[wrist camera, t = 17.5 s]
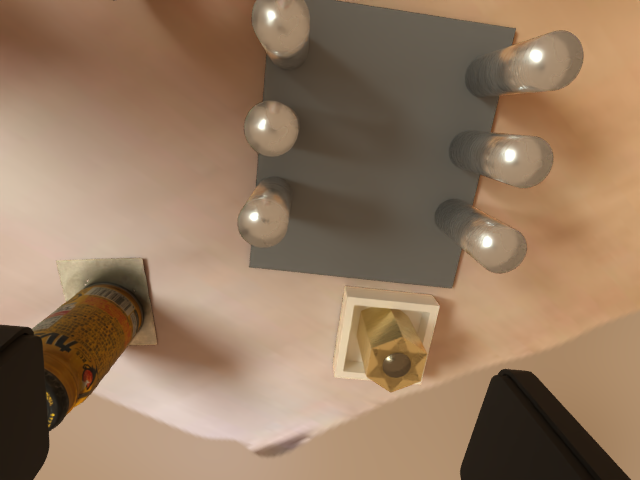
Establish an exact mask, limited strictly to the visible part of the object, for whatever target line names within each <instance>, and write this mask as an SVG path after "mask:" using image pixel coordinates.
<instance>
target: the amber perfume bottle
mask: <svg viewBox="0 0 640 480" xmlns="http://www.w3.org/2000/svg"><path fill="white" fill-rule="evenodd" d="M356 336H357V340H358V344H359V348H360V353H361V357H362V361H363V365H364V370H365V374H366V377H368V378H369V379H371V380H372V381H374V382H375V383H377V384H378V385H380V386H381V387H383V388H385V389H386V390H388V391H389V392H393V391H396V390H399V389H402V388H404V387H407V386H410V385H412V384H415V383H418V382H421V378H422V374H423V370H424V366H425V362H426V358H427V352H426V350H425V348H424V346H423V344H422V342H421V340H420V338H419V336H418V334H417V332H416V330H415V329H414V327H413V325H412V323H411V321H410V319H409V317H408V315H406V314H405V313H403V312H402V311H401V310H399V309H389V308H379V307H370V308H367V309H365V310H362V311H361V313H360V319H359V324H358V330H357V335H356Z"/></svg>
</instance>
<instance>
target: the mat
mask: <svg viewBox="0 0 640 480" xmlns="http://www.w3.org/2000/svg"><path fill="white" fill-rule="evenodd" d="M304 1H305V3H306V5H307V7H308V10H309V15H310V27H309V45H308V54H307V57H306V59H305V61H304V62H303V64H301V65H300V66H299V67H297V68H295V69H292V70H285V69H281V68H279V67H278V66H276V65H275V64H274V63H273V62H272V60H271V59H270V57H269V56H268V54H267V55H266V67H265V80H264V92H263V102H264V101H276V102H280V103H282V104H284V105H286V106H288V107H290V108H291V109H293V110H294V111H295V113H296V114H297V116H298V118H299V122H300V129H299V133H298V136H297V139H296V141H295V143H294V145H293V146H292V148H291V149H290V150H289V151H287V152H286V153H284V154H282V155H279V156H273V157H271V156H265V155H262V154H260V153H259V154H258V167H257V179H256V187H257V186H258V184H259V183H260V182H261V181H262V180H263V179H265V178H268V177H279V178H282V179H283V180H285V181H286V182H287V183H288V184H289V186H290V187H291V190H292V202H291V209H290V215H289V222H288V228H287V232H286V234H285V236H284V238H283V239H282V240H281V241H280V242H279V243H278V244H276V245H274V246H271V247H267V248H260V247H256V246H253V245H251V253H250V266H249V267H253V268H262V269H272V270H281V271H291V272H300V273H310V274H319V275H329V276H339V277H348V278H358V279H367V280H377V281H386V282H396V283H405V284H415V285H425V286H434V287H444V288H452V286H453V282H454V278H455V274H456V270H457V266H458V262H459V258H460V254H461V250H462V248H461V247H460V246H459V245H457V244H456V243H455V242H454V241H453V240H452V239H450V238H449V237H448V236H447V235H446V234H444V233H443V232H442V231H441V230H440V229H439V228H438V227H437V226H436V224H435V219H434V216H435V212H436V209H437V208H438V206H439V205H440V204H441V203H442V202H444V201H446V200H448V199H460V200H462V201H464V202H466V203H467V204H469V205H471V206H472V205H473V201H474V197H475V193H476V189H477V185H478V181H479V177H480V174H477V173H474V172H471V171H468V170H465V169H462V168H459V167H457V166H456V165H454V164H453V162H452V161H451V159H450V156H449V147H450V144H451V142H452V140H453V139H454V138H455V137H456V136H457V135H458V134H459V133H461V132H464V131H468V130H471V131H482V132H491V128H492V124H493V120H494V116H495V112H496V108H497V104H498V100H499V96H492V97H477V96H474V95H473V94H471V93H470V92H469V90H468V89H467V87H466V83H465V74H466V71H467V68H468V66H469V65H470V63H471V62H472V61H473V60H474V59H476V58H477V57H479V56H482V55H485V54H488V53H491V52H494V51H497V50H500V49H503V48H506V47H509V46H512V43H513V39H514V34H515V30H516V28H509V27H503V26H496V25H490V24H483V23H477V22H471V21H464V20H458V19H451V18H445V17H439V16H432V15H426V14H419V13H413V12H407V11H400V10H394V9H387V8H381V7H375V6H368V5H362V4H355V3H349V2H343V1H336V0H304Z"/></svg>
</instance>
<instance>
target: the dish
mask: <svg viewBox="0 0 640 480" xmlns="http://www.w3.org/2000/svg"><path fill="white" fill-rule="evenodd" d="M370 307H379V308H389V309H399V310H401V311H402V312H403V313H405V314H406V315H408V317H409V319H410V321H411V323H412V325H413V327H414V329H415V330H416V332H417V334H418V336H419V338H420V340H421V342H422V344H423V346H424V348H425V350H426V352H427V358H428V353H429V349H430V345H431V341H432V337H433V333H434V328H435V324H436V320H437V316H438V312H439V308H440V306H439V304H438V303H437V301H436V300H435V298H434V297H433V296H432V295H428V294H418V293H408V292H399V291H389V290H379V289H370V288H360V287H350V286H345V288H344V295H343V301H342V307H341V314H340V320H339V326H338V332H337V339H336V345H335V351H334V358H333V370H334V377H335V378H347V379H359V380H370V381H372V380H371V379H369V378H368V377H366V374H365V370H364V365H363V361H362V357H361V353H360V348H359V344H358V340H357V336H356V335H357V330H358V324H359V319H360V313H361V311H362V310H365V309H367V308H370ZM427 358H426V362H427ZM426 362H425V366H426ZM425 366H424V370H425ZM424 370H423V374H424ZM423 374H422V378H423ZM422 378H421V382H418V383H415V384H417V385H421V383H422Z"/></svg>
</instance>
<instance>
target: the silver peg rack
mask: <svg viewBox="0 0 640 480" xmlns="http://www.w3.org/2000/svg"><path fill="white" fill-rule="evenodd" d="M252 26H253V29H254V32H255V34H256V36H257V38H258V39H259V41H260V43H261V44H262V46H263V47H264V49H265V51H266V52H267V54H268V56H269V57H270V59H271V60H272V62H273V63H274V64H275V65H276V66H278V67H279V68H281V69H285V70H292V69H295V68H297V67H299V66H300V65H301V64H303V62H304V61H305V59H306V57H307V54H308V45H309V27H310V15H309V10H308V7H307V5H306V3H305V1H304V0H256V2H255V4H254V6H253V10H252ZM582 63H583V48H582V45H581V42H580V41H579V39H578V38H577V37H576V36H575V35H574V34H572V33H570V32H568V31H554V32H551V33H548V34H545V35H542V36H539V37H536V38H533V39H530V40H527V41H524V42H521V43H518V44H515V45H512V46H509V47H506V48H503V49H500V50H497V51H494V52H491V53H488V54H485V55H482V56H479V57H477V58H476V59H474V60H473V61H472V62H471V63H470V65H469V66H468V68H467V71H466V74H465V83H466V87H467V89H468V90H469V92H470V93H471V94H473V95H474V96H477V97H492V96H502V95H512V94H522V93H533V92H543V91H553V90H559V89H561V88H564V87H565V86H567V85H569V84H570V83H571V82H572V81H573V80H574V79H575V78H576V76H577V75H578V73H579V71H580V69H581V67H582ZM299 129H300V122H299V118H298V116H297V114H296V113H295V111H294V110H293V109H291V108H290V107H288V106H286V105H284V104H282V103H280V102H276V101H264V102H261V103H259V104H257V105H255V106H254V107H253V108H252V109H251V110H250V111H249V112H248V114H247V116H246V119H245V123H244V133H245V137H246V139H247V141H248V143H249V145H250V146H251V147H252V148H253V149H254V150H255V151H256V152H258V153H260V154H262V155H265V156H271V157H273V156H279V155H282V154H284V153H286V152H287V151H289V150H290V149H291V148H292V146H293V145H294V143H295V141H296V139H297V136H298V133H299ZM449 156H450V159H451V161H452V162H453V164H454V165H456V166H457V167H459V168H462V169H465V170H468V171H471V172H474V173H477V174H480V175H483V176H486V177H488V178H491V179H494V180H497V181H500V182H503V183H506V184H509V185H512V186H515V187H518V188H529V187H533V186H535V185H537V184H539V183H540V182H541V181H543V180H544V179H545V178H546V176H547V175H548V174H549V172H550V170H551V167H552V164H553V152H552V149H551V147H550V145H549V144H548V143H547V142H546V141H545V140H544V139H542V138H539V137H535V136H525V135H514V134H504V133H493V132H482V131H471V130H468V131H464V132H461V133H459V134H458V135H457V136H456V137H455V138H454V139H453V140H452V142H451V144H450V147H449ZM291 202H292V190H291V187H290V186H289V184H288V183H287V182H286V181H285V180H283V179H282V178H279V177H268V178H265V179H263V180H262V181H261V182H260V183H259V184H258V186H257V187H256V189H255V190H254V192H253V193H252V195H251V196H250V198H249V199H248V201H247V202H246V204H245V205H244V207H243V208H242V210H241V211H240V213H239V216H238V229H239V232H240V234H241V236H242V237H243V239H244V240H245V241H247V242H248V243H249V244H251V245H253V246H256V247H260V248H267V247H271V246H274V245H276V244H278V243H279V242H280V241H281V240H282V239H283V238H284V236H285V234H286V232H287V228H288V222H289V215H290V209H291ZM434 219H435V224H436V226H437V227H438V228H439V229H440V230H441V231H442V232H443V233H444V234H446V235H447V236H448V237H449V238H450V239H452V240H453V241H454V242H455V243H456V244H457V245H459V246H460V247H461V248H462V249H463V250H464V251H466V252H467V253H468V254H469V255H470V256H472V257H473V258H474V259H475V260H476V261H477V262H479V263H480V264H481V265H482V266H483V267H485V268H486V269H487V270H489V271H491V272H493V273H506V272H509V271H511V270H513V269H515V268H516V267H517V266H518V265H519V264H520V263H521V262H522V261H523V259H524V257H525V255H526V251H527V244H526V240H525V238H524V236H523V235H522V234H521V233H520V232H519V231H517V230H515V229H513V228H512V227H510V226H508V225H506V224H504V223H502V222H501V221H499V220H497V219H495V218H493V217H491V216H489V215H488V214H486V213H484V212H482V211H480V210H478V209H477V208H475V207H473V206H471V205H469V204H467V203H466V202H464V201H462V200H460V199H448V200H446V201H444V202H442V203H441V204H440V205H439V206H438V208H437V209H436V212H435V216H434Z"/></svg>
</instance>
